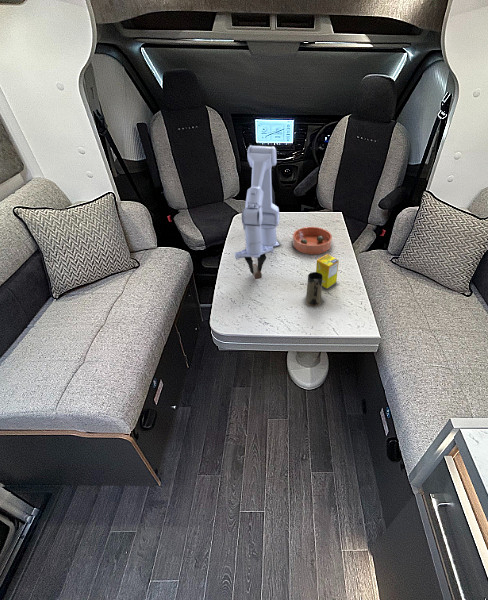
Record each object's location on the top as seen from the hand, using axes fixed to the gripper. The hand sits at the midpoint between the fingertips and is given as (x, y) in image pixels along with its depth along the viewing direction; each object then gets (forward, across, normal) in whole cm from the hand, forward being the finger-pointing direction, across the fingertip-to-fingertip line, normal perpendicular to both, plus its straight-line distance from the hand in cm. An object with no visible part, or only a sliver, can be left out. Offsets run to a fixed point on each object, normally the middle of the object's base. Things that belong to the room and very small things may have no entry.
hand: (255, 271), depth 132 cm
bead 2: (+3, +35, +16) cm, 39 cm away
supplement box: (+3, +24, -13) cm, 28 cm away
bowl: (+3, +31, +16) cm, 35 cm away
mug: (+3, +15, -22) cm, 27 cm away
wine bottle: (+3, +19, +42) cm, 46 cm away
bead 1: (+3, +27, +16) cm, 31 cm away
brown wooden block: (+1, 0, 0) cm, 1 cm away
